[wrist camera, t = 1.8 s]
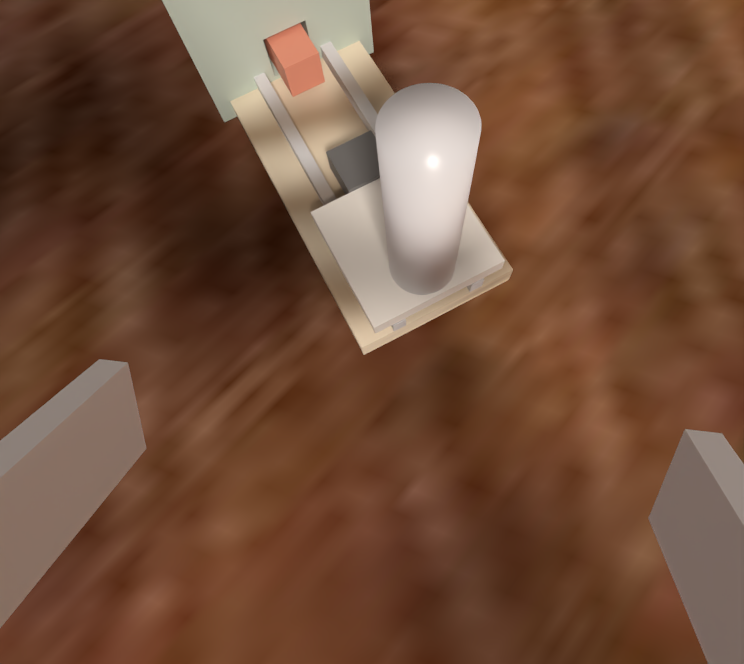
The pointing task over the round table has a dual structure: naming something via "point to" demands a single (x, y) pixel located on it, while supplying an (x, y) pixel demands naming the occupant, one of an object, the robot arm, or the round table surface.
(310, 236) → the rail track
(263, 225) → the round table surface
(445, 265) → the carriage
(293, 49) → the block
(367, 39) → the gauge cabinet
